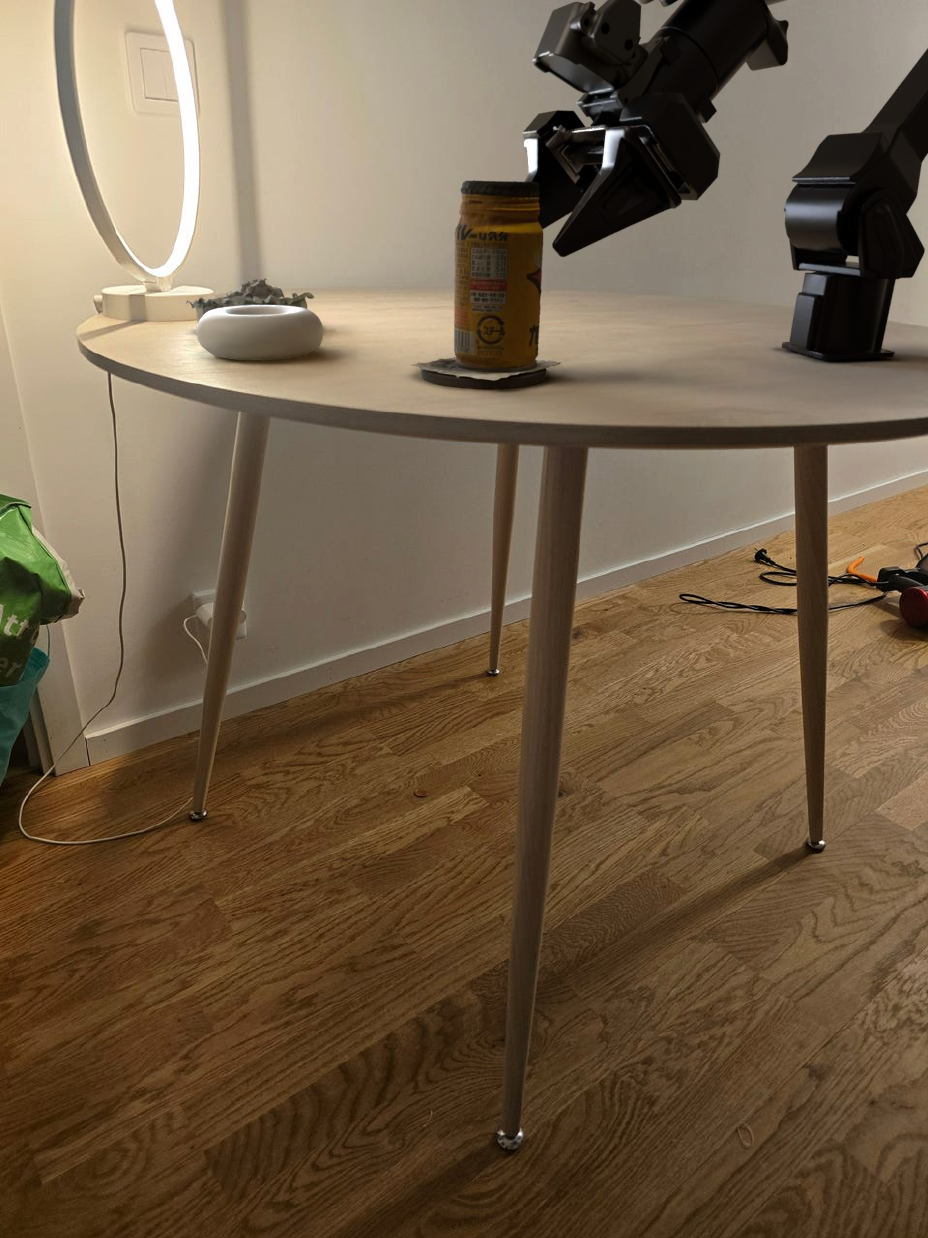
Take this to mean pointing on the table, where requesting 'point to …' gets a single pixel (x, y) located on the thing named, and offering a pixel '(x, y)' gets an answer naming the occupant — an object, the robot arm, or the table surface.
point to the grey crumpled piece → (251, 298)
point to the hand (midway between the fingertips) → (528, 247)
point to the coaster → (470, 382)
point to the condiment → (496, 282)
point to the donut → (259, 332)
